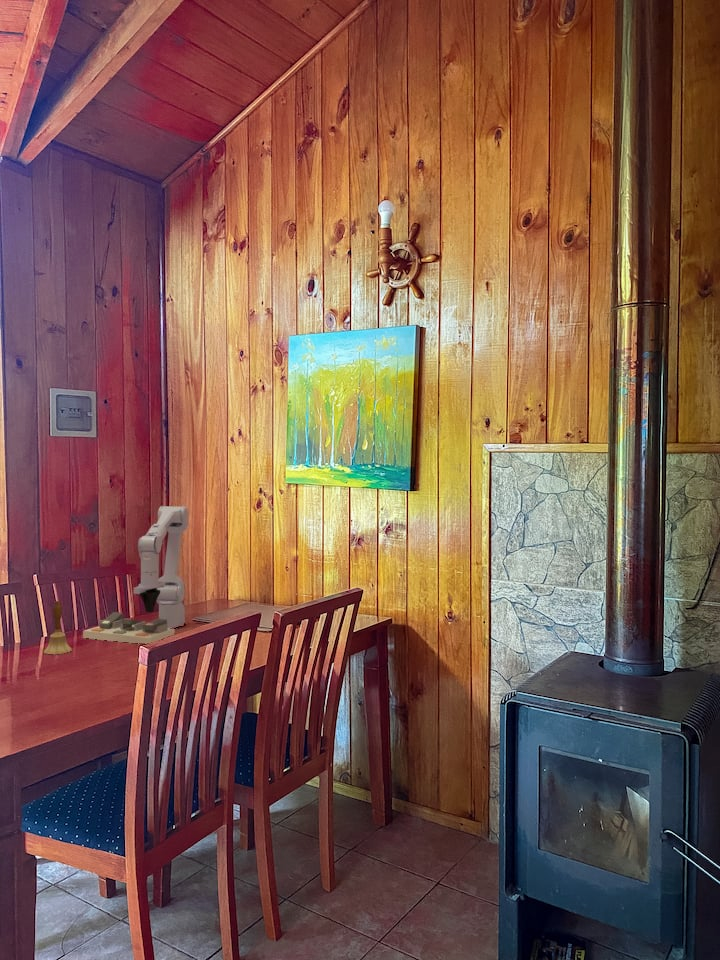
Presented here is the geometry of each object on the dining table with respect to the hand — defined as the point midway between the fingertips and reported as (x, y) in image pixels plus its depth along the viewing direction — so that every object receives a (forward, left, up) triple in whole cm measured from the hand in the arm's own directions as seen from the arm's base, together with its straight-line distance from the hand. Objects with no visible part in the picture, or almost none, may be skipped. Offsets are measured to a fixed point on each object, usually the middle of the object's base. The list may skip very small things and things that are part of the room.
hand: (149, 611), depth 244 cm
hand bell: (+23, -17, -10) cm, 31 cm away
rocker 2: (-3, 0, -5) cm, 6 cm away
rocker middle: (-3, -9, -5) cm, 11 cm away
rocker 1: (-3, -18, -5) cm, 19 cm away
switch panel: (-1, -9, -10) cm, 13 cm away
